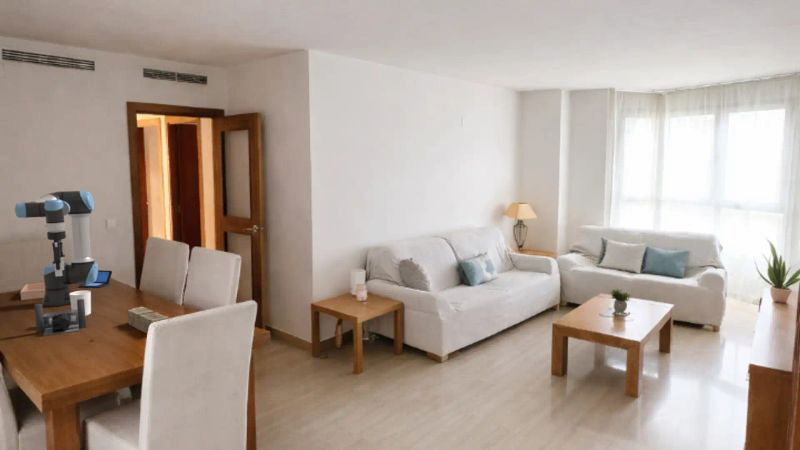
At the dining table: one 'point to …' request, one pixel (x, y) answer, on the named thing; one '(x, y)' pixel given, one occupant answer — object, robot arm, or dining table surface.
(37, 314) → the post
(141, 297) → the dining table surface
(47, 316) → the breaker panel
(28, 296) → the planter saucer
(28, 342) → the dining table surface
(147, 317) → the block tower
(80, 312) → the post
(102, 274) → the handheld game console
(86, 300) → the candle holder
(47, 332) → the mat
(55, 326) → the black rounded block
